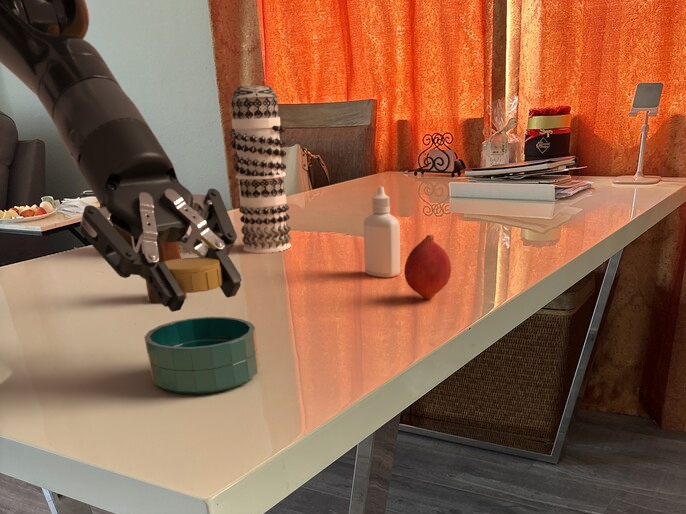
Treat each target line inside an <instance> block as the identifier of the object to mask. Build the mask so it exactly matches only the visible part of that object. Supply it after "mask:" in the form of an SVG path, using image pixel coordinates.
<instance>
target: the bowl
mask: <svg viewBox="0 0 686 514" xmlns="http://www.w3.org/2000/svg"><path fill="white" fill-rule="evenodd" d="M144 342H145V343H144V344H145V348H146V353H147V354H146V355H147V358H148V364H149V371H150V376H151V379H152V382H153V384H154V385H156V386H158V387H160V388H162V389H165V390H167V391H170V392H172V393H178V394H185V395H203V394H204V395H205V394H213V393H219V392H223V391H227V390H231V389H234V388H237V387H239V386H241V385H244V384H245V383H247V382H248V381H249V380H251V379H252V378H253V377H255V376H256V375H257V374H258V373H259V369H260V361H259V352H258V342H257V333H256V327H255V326H254V324H253V323H251V321H248V320H245V319H242V318H237V317H228V316H204V317H203V316H202V317H191V318H185V319H180V320H175V321H171V322H168V323H164V324H161V325H158V326H156V327H154V328H153V329H150V330H149V331H148V332H147V333H146V334H145V335H144Z"/></svg>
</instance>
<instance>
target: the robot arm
mask: <svg viewBox="0 0 686 514" xmlns="http://www.w3.org/2000/svg"><path fill="white" fill-rule="evenodd" d="M89 25H90V13H89V9H88V5H87V2H86V0H0V64H1V65H2V66H4V67H5V68H6V69H7V70H8V71H10V72H11V74H13V75H14V76H15V77H17V78H18V80H19V81H21V82H22V83H23V84H24V85H25V86H26V87H27V88H28V89H29V90H30V91H31V92H32V93H33V94H34V95H36V98H38V100H39V102H40V103H41V104H42V106H43V108H44V109H45V111H46V112H47V114H48V116H49V117H50V119H51V121H52V122H53V124H54V125H55V128H56V129H57V131H58V134H59V137H60V139H61V141H62V143H63V145H64V147H65V149H66V151H67V153H68V154H69V156H70V158H71V159H72V161H73V163H74V164H75V166H76V167H77V169H78V171H79V172H80V174H81V175H82V177H83V179H84V181H85V182H86V183H87V185H88V187H89V189H90V190H91V192H92V194H93V195H94V197H95V198H96V199H97V202H98V203H99V206H100V205H101V206H102V208H100V207H99V208H97V207H96V206H95V205H90V204H89V205H86V206H84V208H83V213H82V216H81V220H80V226H79V232H80V233H81V234H82V236H84V238H85V239H86V240H87V241H88V242H89V244H91V245H92V247H93V248H94V249H95V250H96V252H98V253H99V255H100V256H101V257H102V258H103V259H104V261H105V262H107V264H108V265H109V266H110V268H112V270H113V271H114V272H115V273H116V274H117V275H118V276H119V277H120V278H123V279H128V278H130V277H131V275H132V276H139V277H140V278H141V279H143V280H145V279H146V280H147V282H148V283H149V285H150V287H151V288H152V290H153V292H154V293H155V295H156V296H157V298H158V300H159V301H160V303H159V304H161V305H162V306H163V307H164V308H168V309H169V311H170V312H172V313H173V312H177V311H181V309H182V308H183V305H184V303H185V301H186V299H185V295H184V293H183V291H182V290H181V288H180V286H179V285H178V283H177V281H176V280H175V278H174V277H173V275H172V273H171V272H170V270H169V268H168V267H167V265H166V264H165V262H163V263H160V262H159V253H158V247H157V246H158V245H160V244H162V243H164V242H172V243H174V242H177V243H178V244H179V247H180V246H181V248H183V249H184V250H185V252H188V253H194V254H195V255H196V256H197V257H205V258H214V259H217V260H219V263H220V266H221V273H222V281H223V282H222V285H221V286H220V287H219V288H220V290H221V292H222V293H223V295H224V296H225V297H226V298H232V297H235V296H236V295H237V294H238V291H240V290H239V289H240V288H241V281H242V276H241V275H242V274H241V273H240V272H239V270H238V269H237V267H236V266H235V264H234V263H233V261H232V260H231V258H230V256H229V255H230V253H231V251H232V249H233V246H234V244H235V243H236V241H237V239H238V235H237V232H236V230H235V227H234V225H233V223H232V219H231V218H230V215H229V212H228V210H227V207H226V205H225V203H224V200H223V198H222V195H221V193H220V192H219V190H217V189H216V188H208V190H207V192H206V194H192V192H191V191H190V190H189V189H188V188H187V187H185V186H184V185H182V183H180V181H179V179H178V177H177V174H176V170H175V167H174V164H173V162H172V160H171V159H170V158H169V156H168V154H167V153H166V151H165V150H164V148H163V146H162V145H161V143H160V141H159V140H158V138H157V137H156V135H155V134H154V132H153V130H152V129H151V127H150V126H149V124H148V123H147V121H146V119H145V118H144V116H143V115H142V113H141V112H140V110H139V109H138V107H137V105H136V104H135V103H134V102H133V100H131V98H130V97H129V95H127V93H126V92H125V91H124V89H123V88H122V86H121V85H120V82H119V81H118V80H117V78H116V76H115V75H114V74H113V72H112V71H111V69H110V67H109V66H108V64H107V63H106V61H105V60H104V58H103V56H102V55H101V53H100V52H99V51H98V49H96V48H95V46H93V45H92V44H91V43H90V42H89V41H87V40H86V39H85V38H86V36H87V34H88V30H89ZM113 225H114V226H116V227H118V228H119V229H121V230H123V231H124V232H126V233H128V234H129V235H131V237H132V244H133V249H132V247H131V246H130V245H129V244H128V243H127V242H126V241H125V239H124V238H123V237H122V236H121V235H120V234H119V233H118V232H117V230H116V229H115V228H114V227H113ZM190 228H191V231H190V233H189V234H188V231H189V229H190ZM203 242H204V243H205V244H204V243H203Z"/></svg>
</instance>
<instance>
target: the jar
mask: <svg viewBox="0 0 686 514" xmlns="http://www.w3.org/2000/svg"><path fill="white" fill-rule="evenodd" d="M157 247H158V253H159V262H160V263H162V262H165V261H169V260H174V259H181V258H182V255H181V248H180V245H179V244H178V243H177V242H174V243H172V242H164V243H162V244H160V245H158V246H157ZM144 280H145V286H146V291H147V296H148V297H147V298H148V301H149V302H150V303H153V304H161V303H160V301H159V300H158V298H157V296H156V295H155V293H154V292H153V290H152V288H151V287H150V285H149V283H148V282H147V280H146V279H144ZM184 295H185V300H186V299H187V297H188V296H187V295H188V293H184Z"/></svg>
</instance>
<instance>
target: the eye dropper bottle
mask: <svg viewBox="0 0 686 514" xmlns="http://www.w3.org/2000/svg"><path fill="white" fill-rule="evenodd" d="M390 198H391V197H390V196H388V195H387V194H386V193H385V189H384V186H383V185H382V186H381V185H380V186H377V193H376V195H374V196H373V197H371V199H372V200H371V202H372V214H371V215H368V216H366V217H365V218H364V221H363V251H364V252H363V254H364V272H365V274H367V275H369V276H372V277H376V278H377V277H378V278H385V279H386V278H389V279H390V278H394V277H398V276H400V274H401V228H400V227H401V226H400V221H399V220H398V218H396V217H395V216H394V215H393V214H391V213H390V212H391V199H390Z"/></svg>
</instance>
